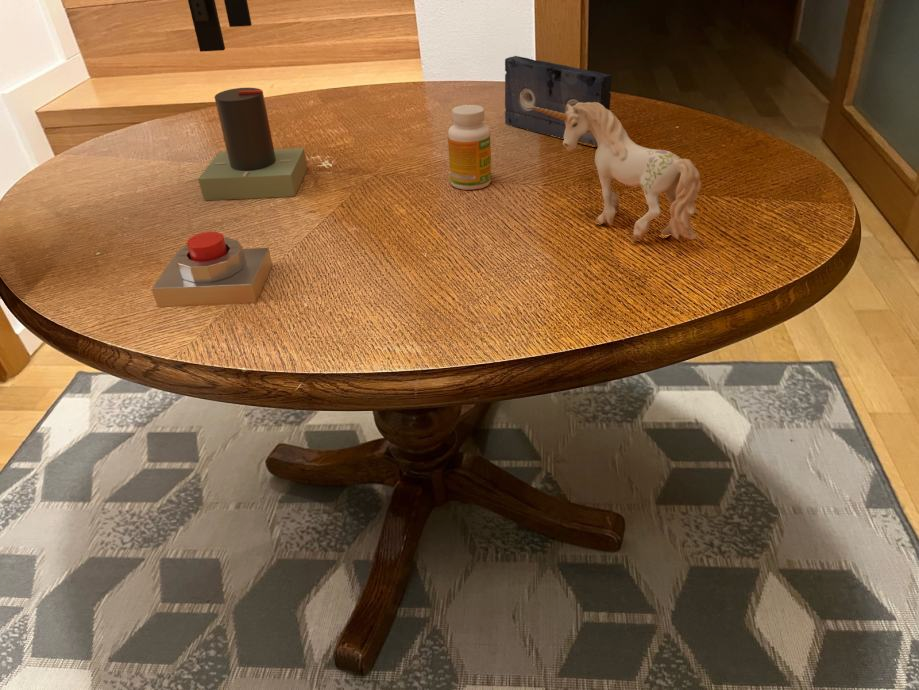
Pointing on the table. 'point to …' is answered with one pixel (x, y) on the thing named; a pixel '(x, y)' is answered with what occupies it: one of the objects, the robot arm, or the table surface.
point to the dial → (245, 128)
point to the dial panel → (254, 177)
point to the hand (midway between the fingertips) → (227, 37)
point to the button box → (214, 278)
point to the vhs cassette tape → (550, 94)
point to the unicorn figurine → (633, 169)
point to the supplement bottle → (469, 148)
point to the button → (206, 246)
